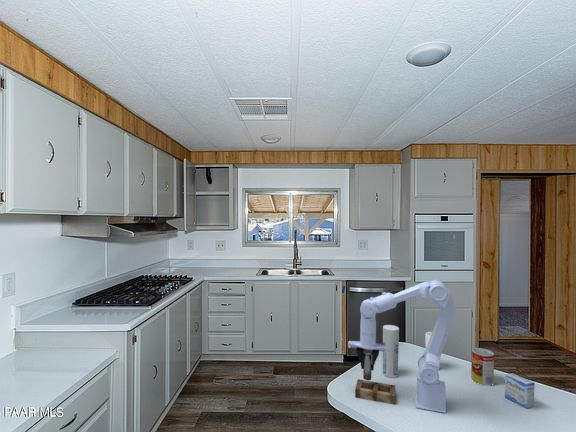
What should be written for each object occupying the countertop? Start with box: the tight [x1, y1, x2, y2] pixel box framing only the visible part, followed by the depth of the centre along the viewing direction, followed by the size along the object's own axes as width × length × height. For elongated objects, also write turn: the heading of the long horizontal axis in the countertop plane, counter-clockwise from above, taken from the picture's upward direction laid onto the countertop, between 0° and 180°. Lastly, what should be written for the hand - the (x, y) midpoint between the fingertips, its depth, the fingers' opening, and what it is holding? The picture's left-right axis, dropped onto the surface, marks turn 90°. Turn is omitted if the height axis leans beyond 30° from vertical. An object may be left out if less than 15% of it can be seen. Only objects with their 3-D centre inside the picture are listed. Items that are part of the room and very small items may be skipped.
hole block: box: [354, 379, 396, 405], centre depth 124 cm, size 14×8×3 cm, turn 72°
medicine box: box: [504, 372, 535, 409], centre depth 121 cm, size 8×4×9 cm, turn 23°
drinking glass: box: [424, 331, 441, 369], centre depth 147 cm, size 7×7×15 cm
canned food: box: [470, 347, 495, 386], centre depth 136 cm, size 8×8×12 cm
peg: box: [362, 352, 373, 381], centre depth 124 cm, size 3×3×9 cm
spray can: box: [382, 324, 400, 379], centre depth 140 cm, size 6×6×20 cm
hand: (367, 368), depth 125 cm, fingers closed on peg, 3 cm apart
